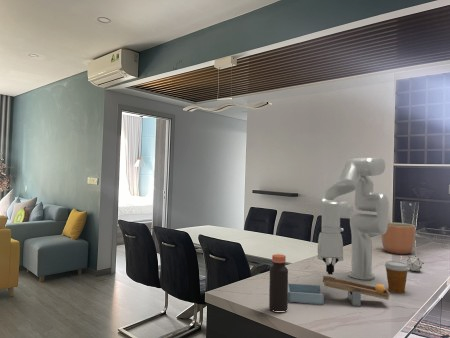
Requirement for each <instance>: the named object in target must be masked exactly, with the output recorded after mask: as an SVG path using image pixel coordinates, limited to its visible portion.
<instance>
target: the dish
mask: <svg viewBox="0 0 450 338" xmlns="http://www.w3.org/2000/svg"><path fill="white" fill-rule="evenodd" d="M288 302H299V303H298V304H302V303H310V304H309V305H317V304H322V305H321V306H324V303H325V297H324V293H322V291H321V285H319V284H303V283H289V282H288Z"/></svg>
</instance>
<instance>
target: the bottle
mask: <svg viewBox="0 0 450 338" xmlns="http://www.w3.org/2000/svg"><path fill="white" fill-rule="evenodd" d="M271 258H272V261H271V262H272V266H271V267H269V285H268V286H269V297H268V300H269V301H268V307H269V308H270V309H271V310H274V311H286V310H287V309H288V306H289V303H288V283H289V270H288V268H287V267H286V266H285V265H286V261H287V259H286V255H284V254H279V253H277V254H273V255H272V257H271ZM270 309H269V310H270ZM271 310H270V311H271ZM288 310H289V309H288ZM288 310H287V311H288ZM287 311H286V312H287Z"/></svg>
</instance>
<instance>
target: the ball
mask: <svg viewBox="0 0 450 338" xmlns="http://www.w3.org/2000/svg"><path fill="white" fill-rule="evenodd" d="M374 287H375V290H376V291H377V292H381V293H384V292H385V288H386V287H385V286H384V284H381V283H379V284H378V283H377V284H376V285H375V286H374Z"/></svg>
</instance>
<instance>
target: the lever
mask: <svg viewBox="0 0 450 338" xmlns="http://www.w3.org/2000/svg"><path fill="white" fill-rule="evenodd" d="M322 283H323V285H324V286H325V287H327V288H333V289H337V290H342V291H346V292H348V291H350V292H352V291H361V295H364V296H369V297H374V298H379V299H381V300H382V299H384V300H389V299H390V294H391V293H390V292H391V291H390V292H389V289H387V288H386V287H385V292H384V293H381V292H377V291H376V290H375V287H376V286H372V285H367V284H363V283H358V282H353V281H348V280H345V279H343V280H342V279H339V278H336V277H333V276H328V275H325V276H324V275H323V276H322Z"/></svg>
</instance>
